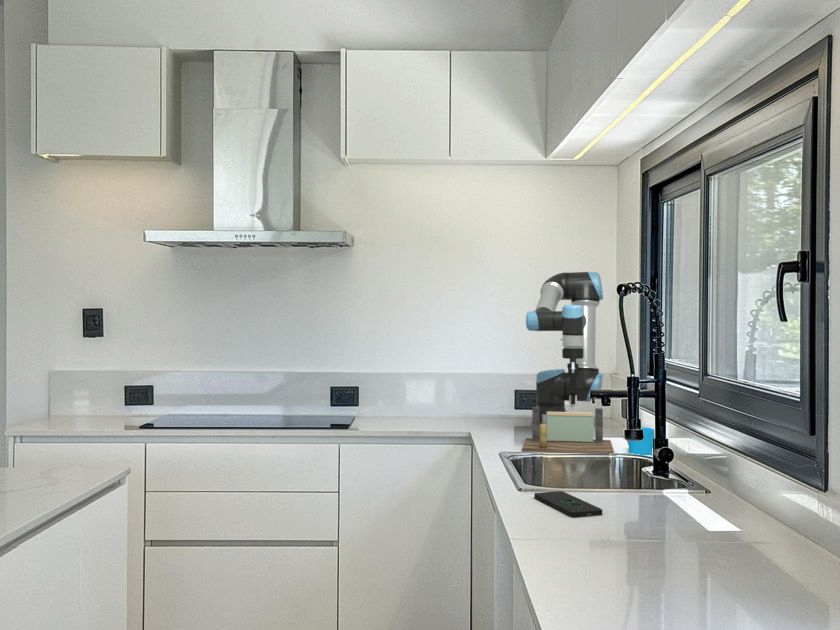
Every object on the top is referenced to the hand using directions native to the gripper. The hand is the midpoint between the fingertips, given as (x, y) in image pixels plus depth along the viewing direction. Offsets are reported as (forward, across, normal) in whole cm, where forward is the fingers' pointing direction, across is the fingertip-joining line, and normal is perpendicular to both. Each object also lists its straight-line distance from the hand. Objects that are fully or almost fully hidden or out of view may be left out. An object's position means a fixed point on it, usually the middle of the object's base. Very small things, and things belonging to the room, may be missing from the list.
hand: (573, 412), depth 271 cm
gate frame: (+11, +10, -2) cm, 15 cm away
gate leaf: (+9, +7, -2) cm, 11 cm away
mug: (+11, +18, +21) cm, 30 cm away
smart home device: (+13, +93, -2) cm, 94 cm away
